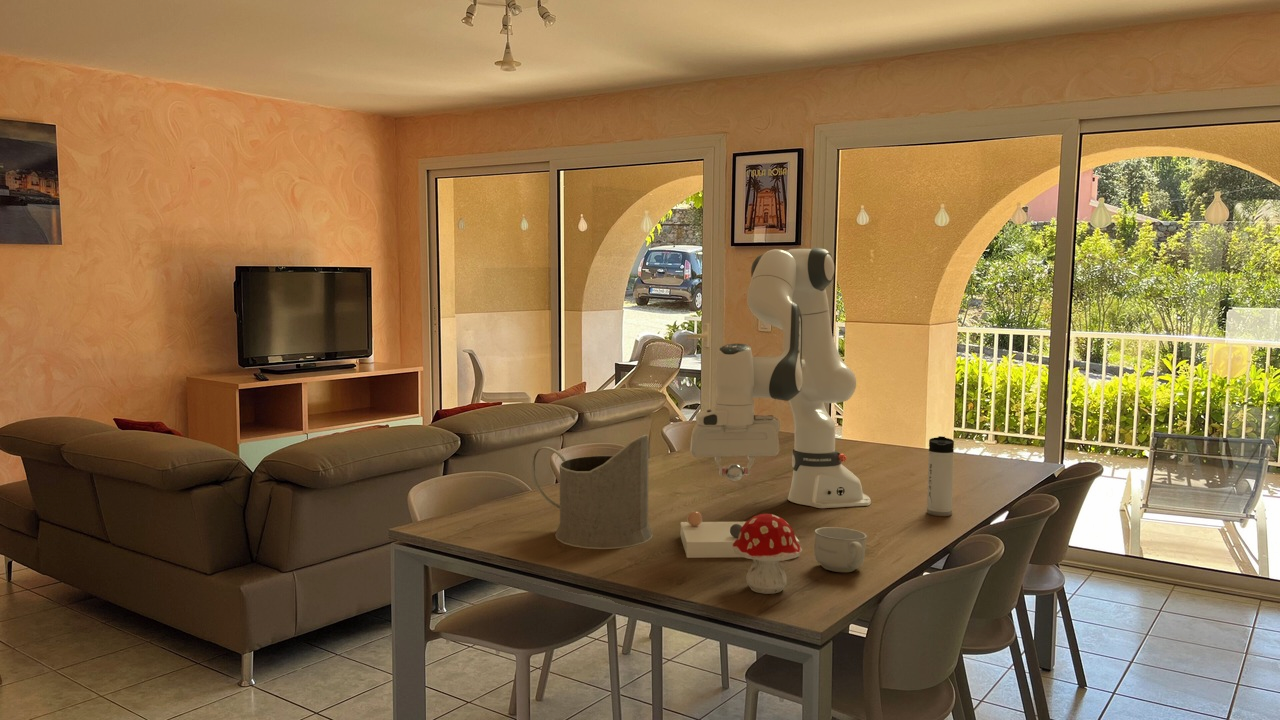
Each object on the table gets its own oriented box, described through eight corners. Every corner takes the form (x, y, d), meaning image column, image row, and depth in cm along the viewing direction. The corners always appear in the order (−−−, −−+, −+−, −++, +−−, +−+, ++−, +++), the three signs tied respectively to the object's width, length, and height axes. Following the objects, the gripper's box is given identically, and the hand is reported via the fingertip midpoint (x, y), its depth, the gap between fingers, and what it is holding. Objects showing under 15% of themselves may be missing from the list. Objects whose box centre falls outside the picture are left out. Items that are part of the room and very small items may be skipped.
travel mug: (951, 511, 244) (954, 436, 243) (951, 517, 238) (954, 441, 236) (927, 509, 246) (929, 435, 245) (926, 515, 240) (928, 439, 238)
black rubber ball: (742, 535, 208) (742, 522, 208) (744, 539, 205) (744, 526, 205) (729, 535, 208) (729, 522, 208) (730, 539, 205) (730, 526, 205)
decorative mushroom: (776, 606, 173) (777, 528, 171) (717, 589, 182) (717, 515, 181) (815, 588, 183) (816, 514, 182) (757, 573, 192) (758, 502, 191)
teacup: (808, 561, 200) (808, 525, 200) (856, 560, 201) (857, 524, 201) (826, 582, 187) (827, 543, 186) (878, 580, 188) (879, 542, 187)
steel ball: (741, 479, 213) (741, 462, 213) (744, 483, 209) (744, 465, 209) (724, 479, 213) (724, 462, 213) (726, 483, 209) (726, 465, 209)
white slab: (784, 535, 221) (784, 521, 220) (799, 556, 204) (799, 541, 203) (680, 536, 220) (680, 522, 219) (686, 557, 203) (686, 542, 202)
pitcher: (625, 554, 206) (625, 443, 204) (507, 536, 219) (506, 433, 217) (667, 529, 226) (668, 428, 224) (557, 514, 240) (556, 420, 238)
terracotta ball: (701, 523, 218) (701, 509, 218) (702, 527, 214) (702, 513, 214) (686, 523, 218) (686, 509, 217) (687, 527, 214) (687, 513, 214)
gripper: (777, 412, 213) (777, 471, 214) (689, 414, 213) (689, 472, 214) (782, 417, 207) (782, 477, 208) (691, 418, 206) (691, 478, 208)
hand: (734, 475), depth 211 cm, fingers closed on steel ball, 4 cm apart
